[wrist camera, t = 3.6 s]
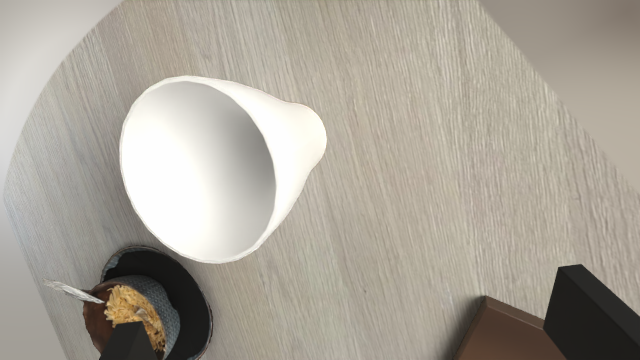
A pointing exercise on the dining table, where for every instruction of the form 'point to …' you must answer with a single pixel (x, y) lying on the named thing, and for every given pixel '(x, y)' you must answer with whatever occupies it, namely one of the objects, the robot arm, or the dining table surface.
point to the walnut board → (506, 335)
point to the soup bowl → (147, 303)
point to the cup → (216, 164)
